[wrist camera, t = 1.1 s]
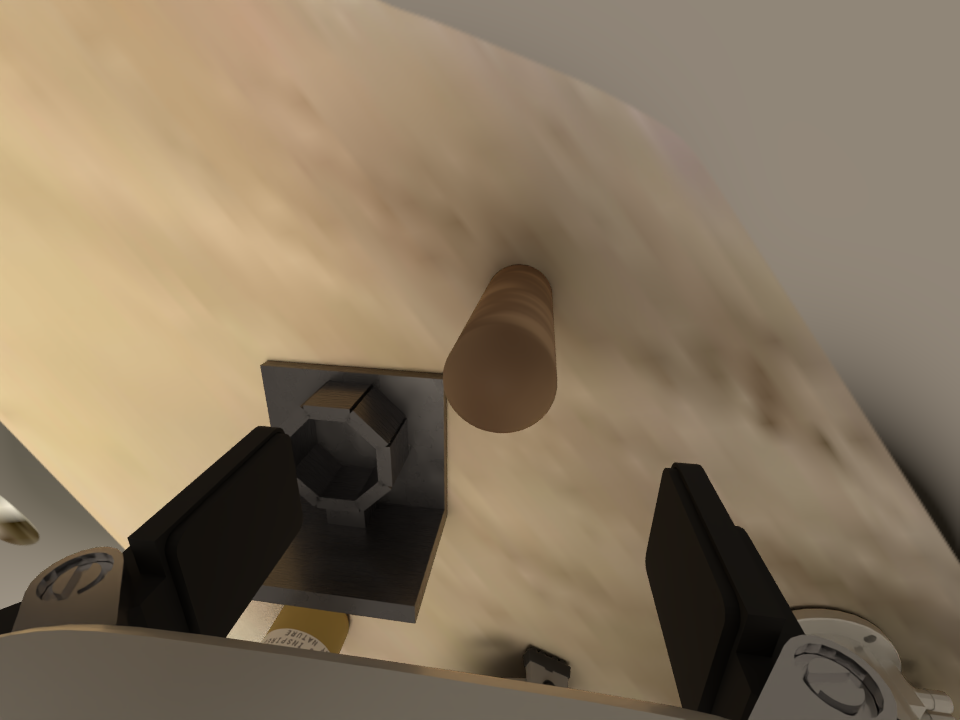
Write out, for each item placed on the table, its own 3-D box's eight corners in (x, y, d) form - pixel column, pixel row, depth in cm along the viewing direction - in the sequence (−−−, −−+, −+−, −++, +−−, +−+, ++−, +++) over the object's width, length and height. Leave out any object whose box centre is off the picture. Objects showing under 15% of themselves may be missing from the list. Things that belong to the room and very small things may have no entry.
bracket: (447, 515, 38) (415, 623, 29) (290, 498, 39) (212, 594, 30) (446, 374, 33) (407, 448, 24) (267, 360, 35) (166, 424, 25)
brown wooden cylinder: (554, 265, 29) (562, 331, 16) (549, 330, 31) (552, 437, 18) (487, 262, 30) (442, 324, 17) (485, 326, 31) (443, 428, 18)
